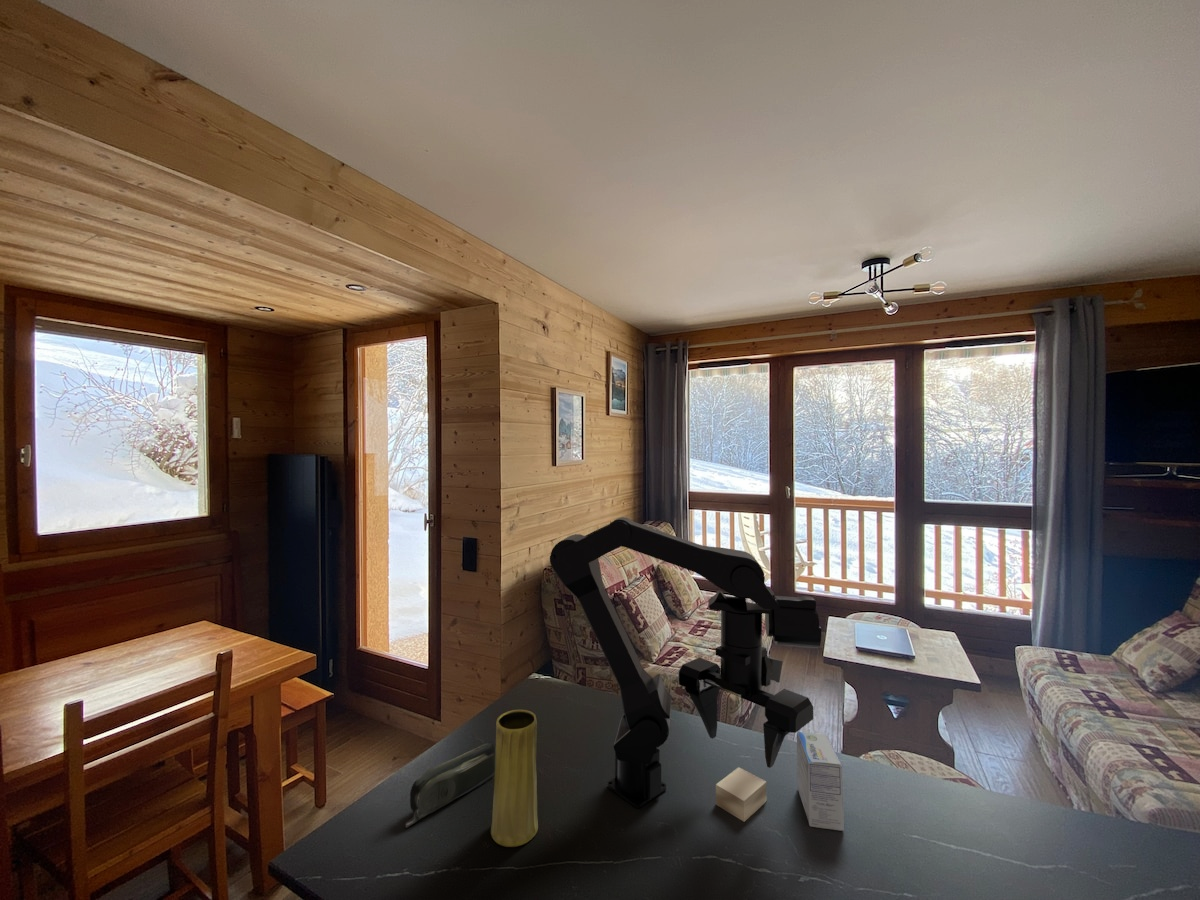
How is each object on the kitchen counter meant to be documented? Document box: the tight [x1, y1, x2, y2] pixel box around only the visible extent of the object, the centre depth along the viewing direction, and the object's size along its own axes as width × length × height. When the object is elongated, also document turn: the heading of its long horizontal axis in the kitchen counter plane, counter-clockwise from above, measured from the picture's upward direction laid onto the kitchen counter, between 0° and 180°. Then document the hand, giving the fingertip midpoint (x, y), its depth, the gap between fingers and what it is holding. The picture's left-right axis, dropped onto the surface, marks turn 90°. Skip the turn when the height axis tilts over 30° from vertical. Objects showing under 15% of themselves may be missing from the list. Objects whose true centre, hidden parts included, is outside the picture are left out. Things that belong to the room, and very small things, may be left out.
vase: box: [490, 709, 539, 848], centre depth 63 cm, size 6×6×14 cm
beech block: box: [715, 767, 767, 823], centre depth 69 cm, size 4×6×3 cm
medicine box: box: [796, 731, 845, 832], centre depth 68 cm, size 8×4×9 cm, turn 168°
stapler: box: [404, 741, 496, 828], centre depth 69 cm, size 5×3×15 cm
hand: (740, 751), depth 69 cm, fingers open, 9 cm apart
